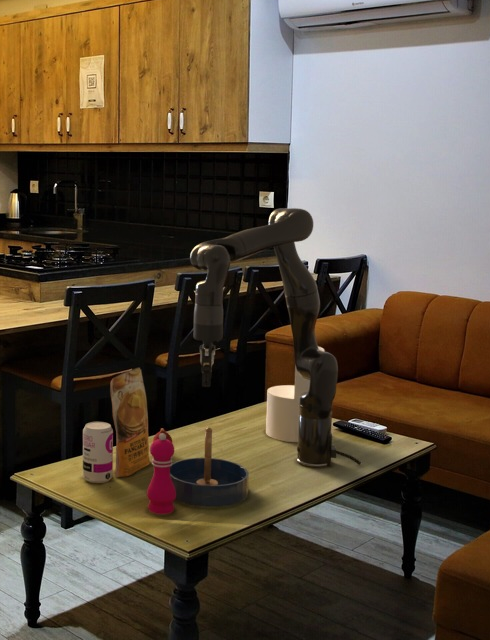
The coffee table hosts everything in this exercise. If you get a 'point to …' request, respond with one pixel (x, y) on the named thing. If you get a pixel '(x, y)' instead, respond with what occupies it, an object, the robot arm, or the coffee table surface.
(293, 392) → the cylinder
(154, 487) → the pepper mill
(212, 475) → the bowl
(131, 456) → the pancake mix bag
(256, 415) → the coffee table surface
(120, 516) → the coffee table surface
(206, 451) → the wooden disc peg
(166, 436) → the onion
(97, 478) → the supplement can
